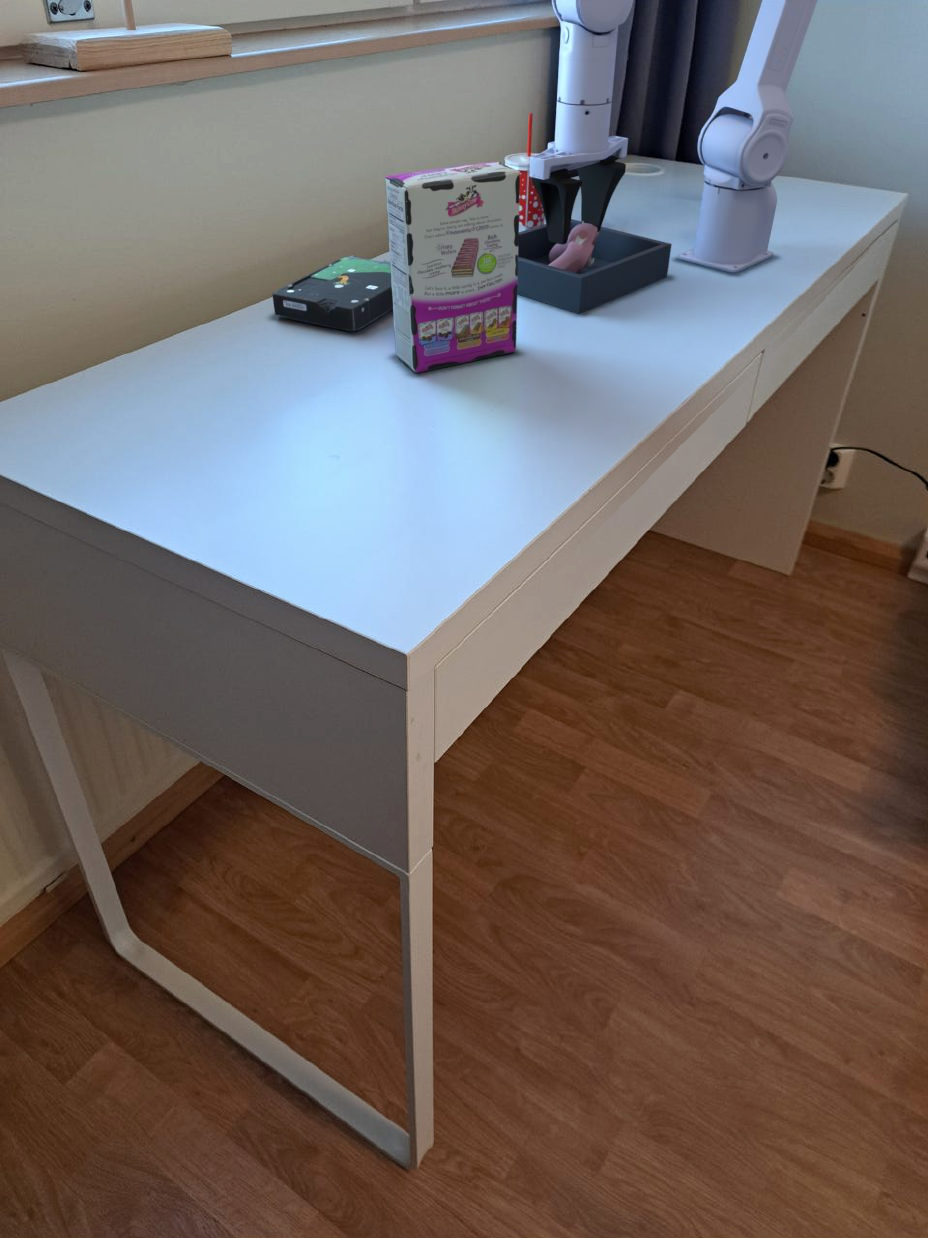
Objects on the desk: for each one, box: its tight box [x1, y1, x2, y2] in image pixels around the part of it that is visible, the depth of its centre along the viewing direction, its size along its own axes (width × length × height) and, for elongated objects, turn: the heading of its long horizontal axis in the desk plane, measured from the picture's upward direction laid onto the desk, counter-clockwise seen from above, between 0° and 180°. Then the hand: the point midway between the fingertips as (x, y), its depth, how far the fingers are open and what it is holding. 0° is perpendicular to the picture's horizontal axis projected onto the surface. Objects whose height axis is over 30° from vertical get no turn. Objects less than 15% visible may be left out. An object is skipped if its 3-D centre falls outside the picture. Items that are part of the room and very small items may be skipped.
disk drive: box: [271, 255, 393, 332], centre depth 99 cm, size 10×3×15 cm
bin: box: [517, 218, 672, 315], centre depth 106 cm, size 17×16×4 cm
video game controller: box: [549, 221, 599, 274], centre depth 105 cm, size 10×5×7 cm, turn 168°
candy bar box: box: [384, 161, 520, 373], centre depth 84 cm, size 11×5×16 cm, turn 117°
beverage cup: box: [504, 112, 546, 232], centre depth 117 cm, size 6×6×14 cm
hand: (574, 236), depth 104 cm, fingers open, 5 cm apart
